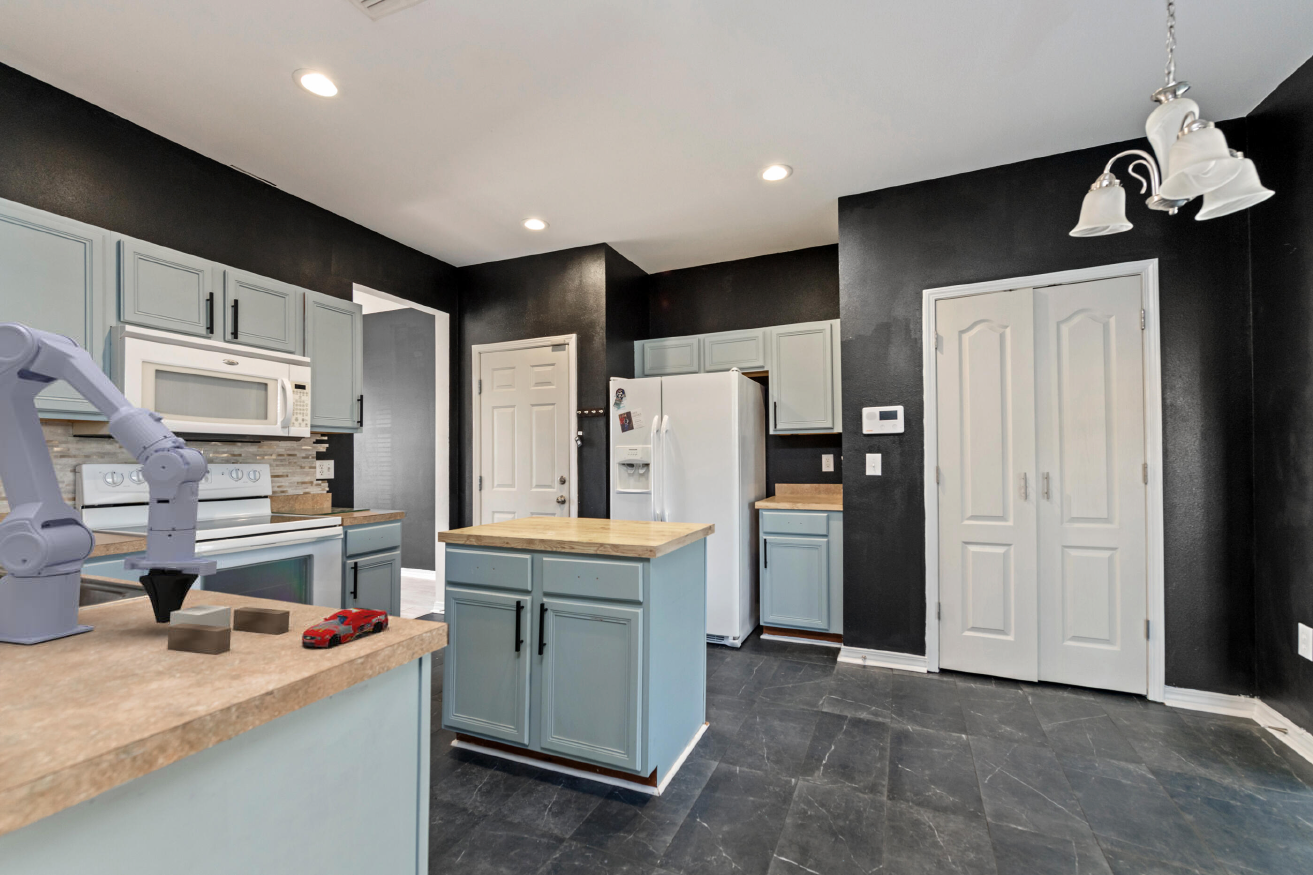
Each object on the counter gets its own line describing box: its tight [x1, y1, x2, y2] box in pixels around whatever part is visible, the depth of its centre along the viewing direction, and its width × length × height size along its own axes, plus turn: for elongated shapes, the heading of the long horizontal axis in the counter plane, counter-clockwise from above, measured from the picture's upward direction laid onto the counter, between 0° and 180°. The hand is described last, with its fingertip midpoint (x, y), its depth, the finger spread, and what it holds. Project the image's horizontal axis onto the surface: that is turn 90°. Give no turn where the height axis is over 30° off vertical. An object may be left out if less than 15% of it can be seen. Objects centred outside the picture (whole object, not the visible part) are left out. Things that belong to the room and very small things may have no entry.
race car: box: [301, 607, 389, 649], centre depth 90 cm, size 13×5×4 cm, turn 158°
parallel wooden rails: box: [166, 606, 290, 655], centre depth 88 cm, size 8×12×3 cm, turn 168°
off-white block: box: [169, 604, 232, 628], centre depth 89 cm, size 5×5×4 cm
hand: (166, 621), depth 90 cm, fingers closed
